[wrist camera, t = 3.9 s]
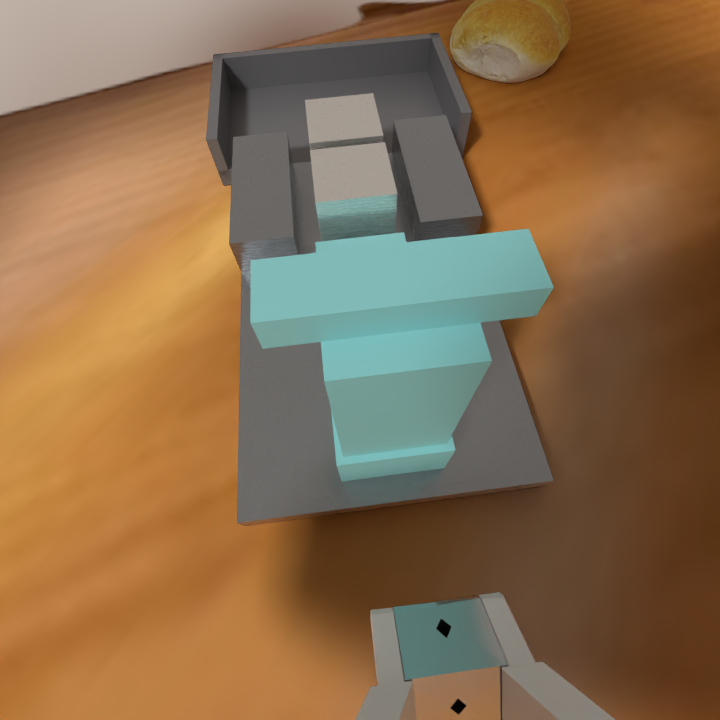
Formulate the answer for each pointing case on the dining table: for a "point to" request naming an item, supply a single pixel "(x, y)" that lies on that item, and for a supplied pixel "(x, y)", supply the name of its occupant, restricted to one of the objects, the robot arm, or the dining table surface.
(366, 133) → the chip
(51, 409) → the dining table surface
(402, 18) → the dining table surface
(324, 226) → the beige cube
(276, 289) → the rake tool
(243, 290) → the slot board
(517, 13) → the bread roll
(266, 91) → the tray
